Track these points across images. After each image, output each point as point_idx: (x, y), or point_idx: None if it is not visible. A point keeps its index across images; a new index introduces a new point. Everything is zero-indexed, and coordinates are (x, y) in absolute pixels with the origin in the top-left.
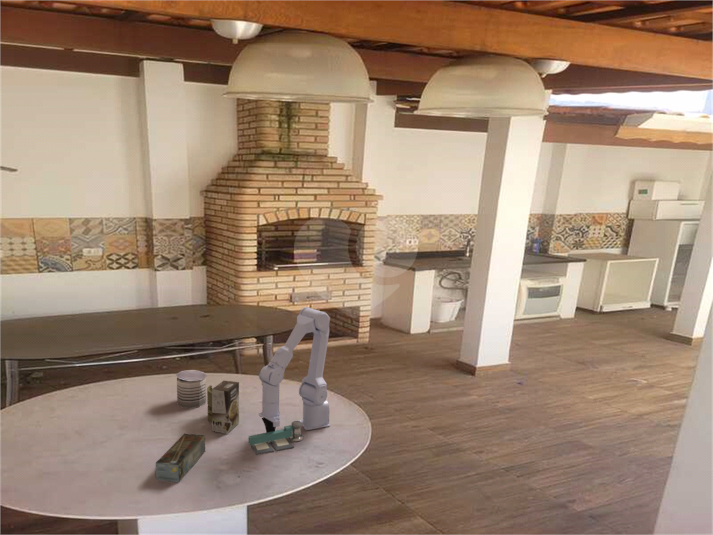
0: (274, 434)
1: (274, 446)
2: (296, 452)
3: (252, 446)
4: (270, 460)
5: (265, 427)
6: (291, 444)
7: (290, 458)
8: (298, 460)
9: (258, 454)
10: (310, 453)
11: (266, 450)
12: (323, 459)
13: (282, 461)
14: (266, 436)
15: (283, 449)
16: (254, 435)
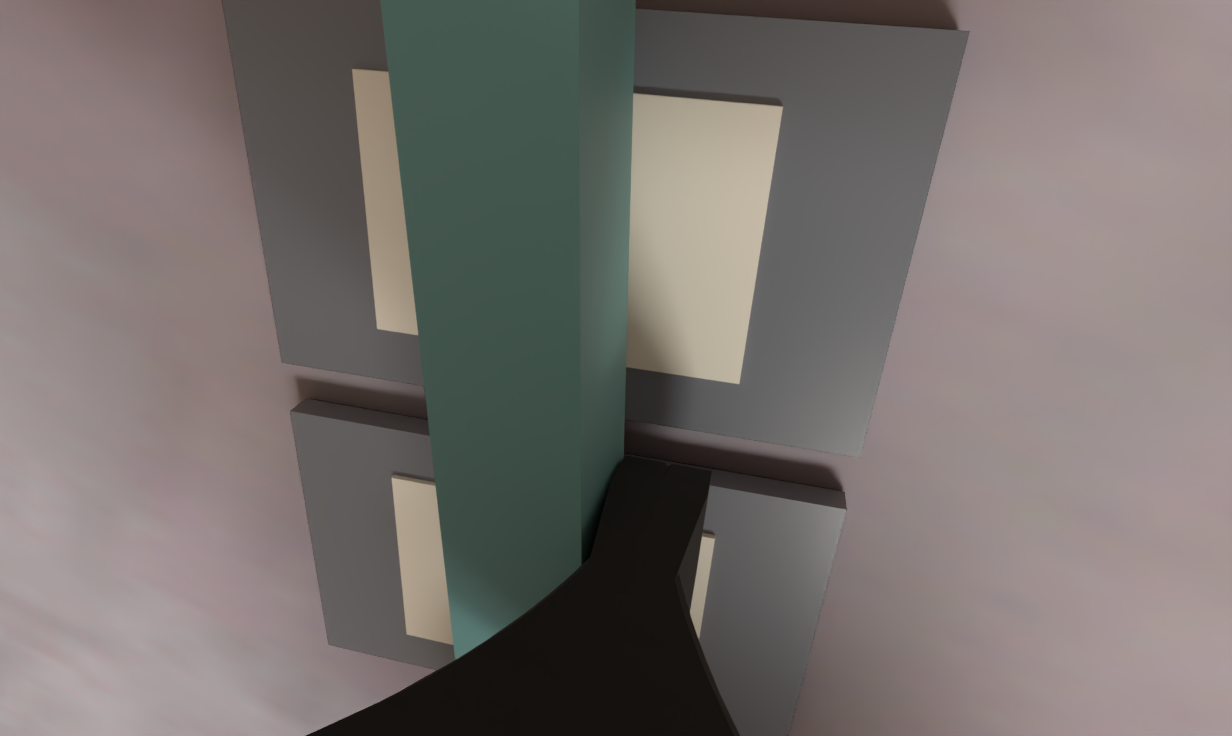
0: (460, 612)
1: (424, 431)
2: (220, 594)
3: None
4: (35, 180)
5: (665, 618)
6: (395, 651)
7: (78, 464)
8: (25, 519)
9: (248, 38)
10: (172, 693)
11: (307, 242)
12: (38, 714)
13: (3, 337)
14: (445, 429)
15: (316, 502)
16: (532, 114)
